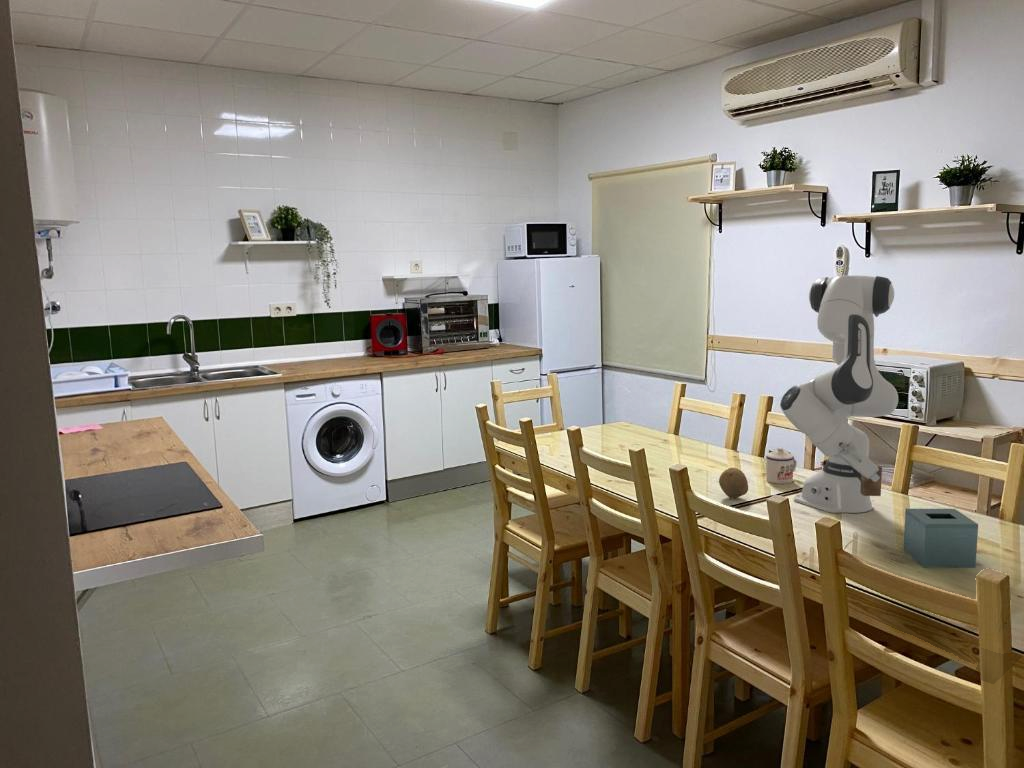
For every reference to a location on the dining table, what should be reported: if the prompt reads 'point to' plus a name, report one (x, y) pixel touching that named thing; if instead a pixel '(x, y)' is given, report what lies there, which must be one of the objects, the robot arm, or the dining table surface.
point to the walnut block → (871, 485)
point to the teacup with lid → (780, 467)
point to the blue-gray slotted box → (940, 538)
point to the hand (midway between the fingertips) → (873, 477)
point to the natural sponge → (733, 483)
